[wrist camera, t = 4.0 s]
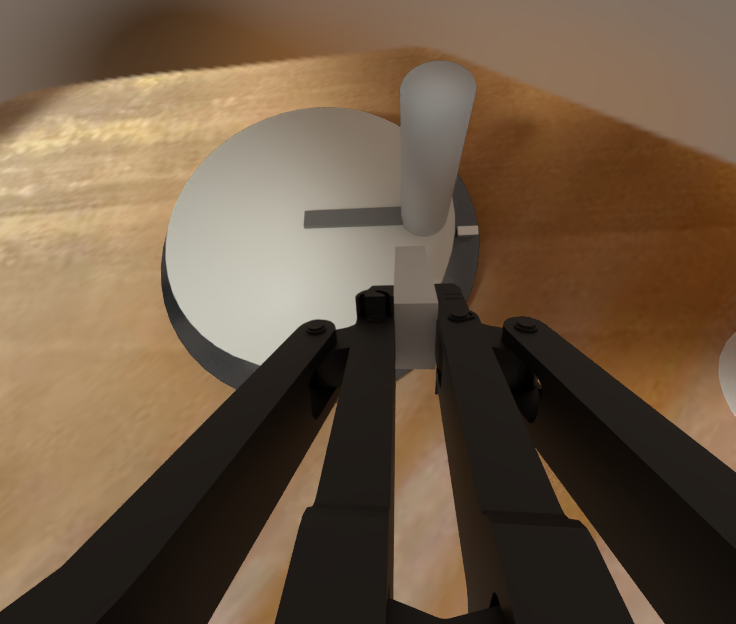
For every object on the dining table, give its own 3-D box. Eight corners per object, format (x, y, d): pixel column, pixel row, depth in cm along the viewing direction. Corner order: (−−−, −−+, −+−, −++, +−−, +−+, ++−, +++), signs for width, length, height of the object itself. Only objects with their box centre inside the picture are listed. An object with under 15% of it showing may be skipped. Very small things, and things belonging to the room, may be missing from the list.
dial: (159, 371, 23) (-51, 334, 12) (206, 136, 28) (92, -25, 18) (459, 373, 21) (518, 330, 10) (443, 120, 26) (470, -73, 16)
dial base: (115, 310, 26) (95, 303, 25) (277, 95, 31) (270, 77, 30) (380, 475, 21) (377, 481, 19) (524, 184, 26) (533, 168, 24)
